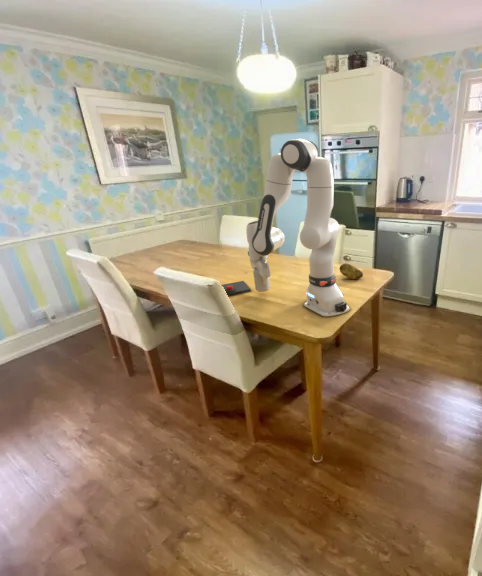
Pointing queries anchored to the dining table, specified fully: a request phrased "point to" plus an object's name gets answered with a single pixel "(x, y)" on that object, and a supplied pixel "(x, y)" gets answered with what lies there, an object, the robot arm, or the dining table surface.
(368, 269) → the dining table surface
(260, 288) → the can
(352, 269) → the potato
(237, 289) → the scale
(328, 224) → the robot arm
